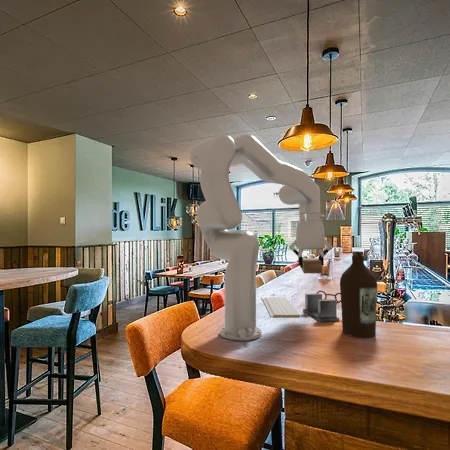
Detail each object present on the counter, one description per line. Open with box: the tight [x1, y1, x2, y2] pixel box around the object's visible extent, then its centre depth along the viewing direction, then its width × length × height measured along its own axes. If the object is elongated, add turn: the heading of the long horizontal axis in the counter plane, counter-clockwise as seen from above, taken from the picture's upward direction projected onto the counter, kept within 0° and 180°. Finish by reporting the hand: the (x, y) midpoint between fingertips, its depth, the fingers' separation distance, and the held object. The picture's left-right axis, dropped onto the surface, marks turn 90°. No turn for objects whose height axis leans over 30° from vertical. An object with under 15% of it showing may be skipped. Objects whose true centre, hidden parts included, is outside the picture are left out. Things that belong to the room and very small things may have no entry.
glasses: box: [315, 290, 341, 305], centre depth 139 cm, size 13×13×5 cm
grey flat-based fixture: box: [302, 292, 340, 323], centre depth 119 cm, size 15×7×7 cm, turn 9°
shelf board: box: [301, 257, 323, 274], centre depth 118 cm, size 14×6×4 cm, turn 170°
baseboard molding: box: [260, 293, 301, 318], centre depth 134 cm, size 31×3×12 cm
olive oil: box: [339, 250, 378, 339], centre depth 99 cm, size 11×11×25 cm
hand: (310, 267), depth 118 cm, fingers closed on shelf board, 6 cm apart
